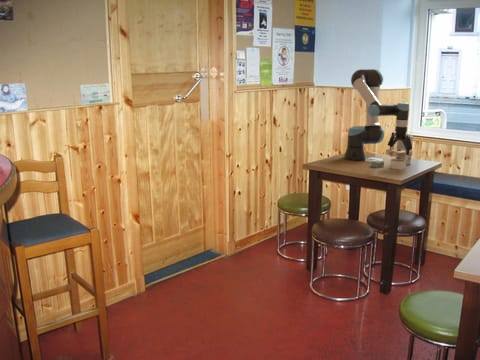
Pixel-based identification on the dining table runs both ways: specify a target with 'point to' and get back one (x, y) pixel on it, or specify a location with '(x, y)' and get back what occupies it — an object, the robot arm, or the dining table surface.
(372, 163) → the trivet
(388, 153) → the lid
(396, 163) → the bowl
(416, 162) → the dining table surface
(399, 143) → the container
